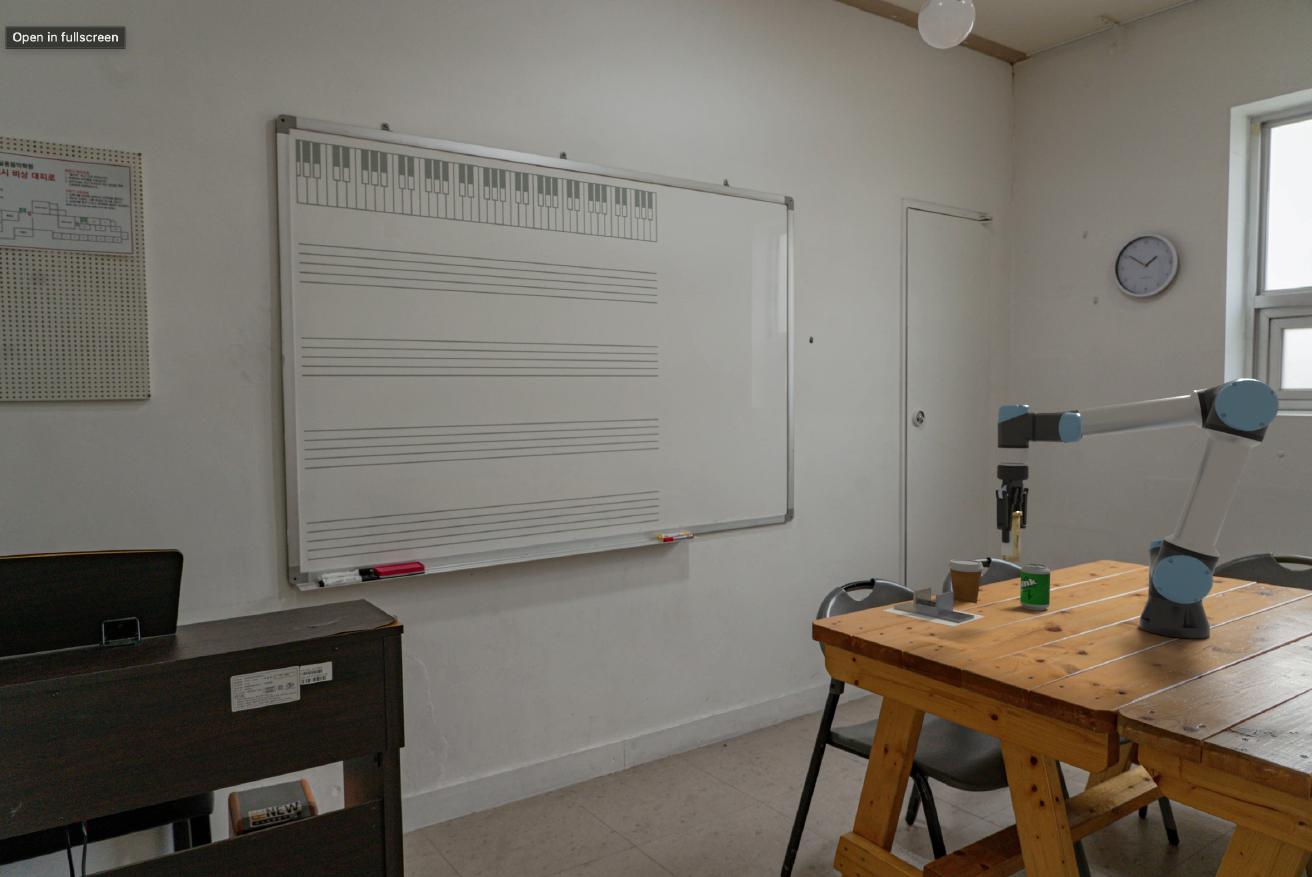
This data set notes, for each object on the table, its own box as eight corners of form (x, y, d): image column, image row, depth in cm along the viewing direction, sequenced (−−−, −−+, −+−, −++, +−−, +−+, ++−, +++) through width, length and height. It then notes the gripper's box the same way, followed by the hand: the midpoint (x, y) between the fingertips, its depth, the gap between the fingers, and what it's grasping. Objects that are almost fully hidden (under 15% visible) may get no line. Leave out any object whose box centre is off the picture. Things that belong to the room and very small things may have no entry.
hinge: (974, 618, 216) (974, 595, 216) (959, 623, 211) (960, 599, 211) (908, 604, 231) (909, 583, 230) (893, 608, 226) (894, 586, 226)
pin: (1025, 560, 214) (1025, 511, 214) (1015, 562, 211) (1016, 512, 211) (1006, 557, 218) (1007, 509, 218) (997, 560, 215) (997, 511, 215)
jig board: (985, 620, 218) (985, 616, 218) (953, 631, 208) (953, 626, 208) (914, 606, 234) (914, 601, 234) (881, 615, 224) (882, 610, 224)
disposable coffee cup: (987, 607, 234) (988, 565, 233) (954, 606, 234) (954, 564, 233) (975, 599, 243) (976, 558, 243) (943, 599, 243) (943, 558, 243)
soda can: (1043, 605, 236) (1044, 563, 236) (1053, 611, 229) (1054, 568, 229) (1016, 604, 237) (1017, 562, 237) (1025, 610, 230) (1026, 567, 229)
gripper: (1014, 462, 222) (1012, 548, 223) (982, 465, 211) (981, 556, 212) (1042, 463, 216) (1040, 552, 217) (1011, 466, 205) (1009, 560, 206)
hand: (1011, 554), depth 215 cm, fingers closed on pin, 4 cm apart
